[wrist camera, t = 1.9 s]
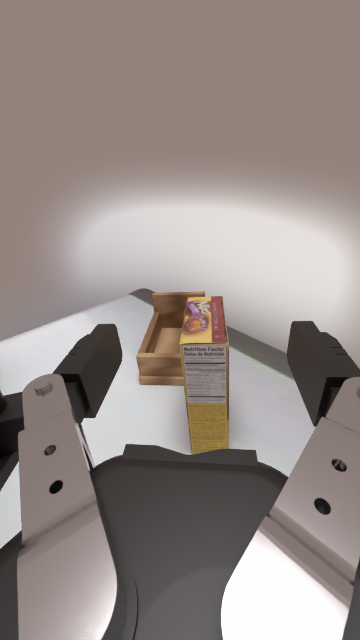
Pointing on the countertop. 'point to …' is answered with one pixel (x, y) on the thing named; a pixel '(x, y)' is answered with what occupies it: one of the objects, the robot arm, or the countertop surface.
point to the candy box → (206, 373)
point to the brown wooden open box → (164, 340)
